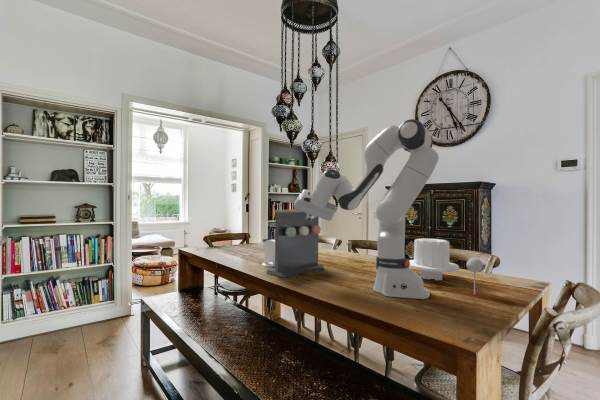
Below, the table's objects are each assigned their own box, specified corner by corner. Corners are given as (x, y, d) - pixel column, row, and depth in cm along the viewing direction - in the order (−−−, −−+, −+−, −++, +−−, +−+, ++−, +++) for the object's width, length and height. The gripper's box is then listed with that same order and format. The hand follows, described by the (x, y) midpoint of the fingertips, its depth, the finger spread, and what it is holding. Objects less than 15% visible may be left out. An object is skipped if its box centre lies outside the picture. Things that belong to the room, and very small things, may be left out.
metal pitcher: (285, 264, 184) (285, 239, 184) (274, 267, 174) (274, 241, 174) (269, 262, 190) (269, 237, 190) (257, 265, 180) (258, 239, 180)
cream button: (308, 235, 164) (308, 226, 164) (302, 235, 161) (302, 226, 161) (304, 234, 166) (304, 226, 166) (298, 235, 163) (298, 226, 163)
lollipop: (476, 297, 122) (477, 259, 122) (463, 293, 127) (463, 257, 127) (486, 295, 124) (486, 258, 125) (472, 291, 130) (472, 256, 130)
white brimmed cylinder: (408, 270, 171) (408, 236, 171) (458, 275, 160) (458, 239, 161) (402, 280, 149) (402, 241, 149) (460, 286, 138) (460, 244, 138)
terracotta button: (320, 234, 171) (320, 225, 172) (315, 234, 168) (315, 225, 168) (316, 233, 174) (316, 225, 174) (310, 234, 170) (311, 225, 170)
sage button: (296, 236, 157) (296, 227, 157) (289, 237, 153) (289, 227, 153) (291, 236, 159) (291, 226, 159) (285, 236, 155) (285, 227, 155)
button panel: (323, 268, 174) (324, 209, 175) (283, 277, 151) (283, 210, 151) (307, 264, 182) (308, 209, 183) (267, 273, 159) (267, 209, 159)
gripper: (338, 202, 151) (327, 222, 159) (300, 188, 148) (290, 208, 156) (339, 210, 146) (327, 230, 154) (299, 195, 143) (289, 216, 151)
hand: (308, 219), depth 155 cm, fingers closed
